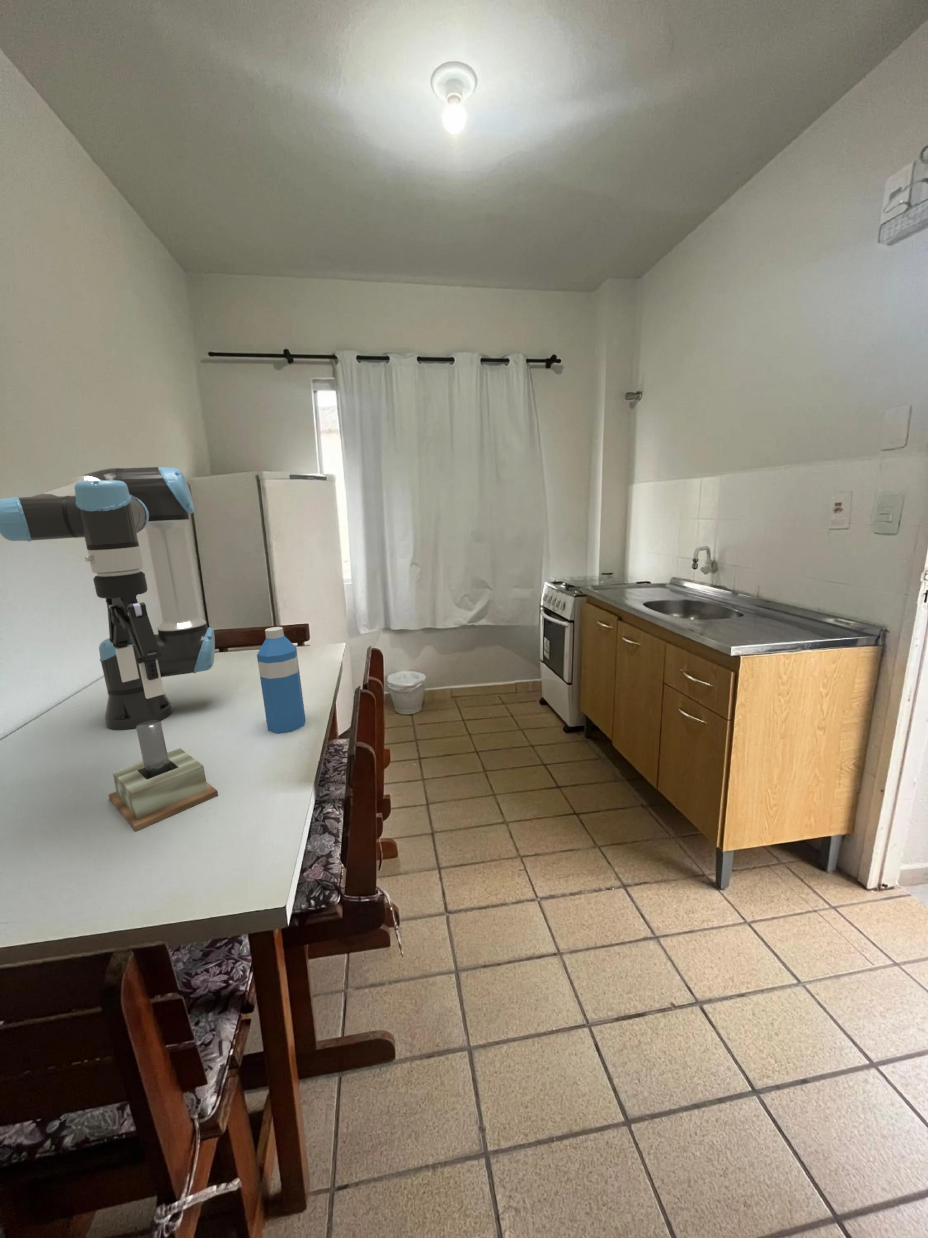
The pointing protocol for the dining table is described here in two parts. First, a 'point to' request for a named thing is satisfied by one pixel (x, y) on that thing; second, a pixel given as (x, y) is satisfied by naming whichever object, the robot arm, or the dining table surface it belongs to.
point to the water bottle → (280, 682)
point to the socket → (160, 790)
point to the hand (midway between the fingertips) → (142, 687)
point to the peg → (153, 748)
